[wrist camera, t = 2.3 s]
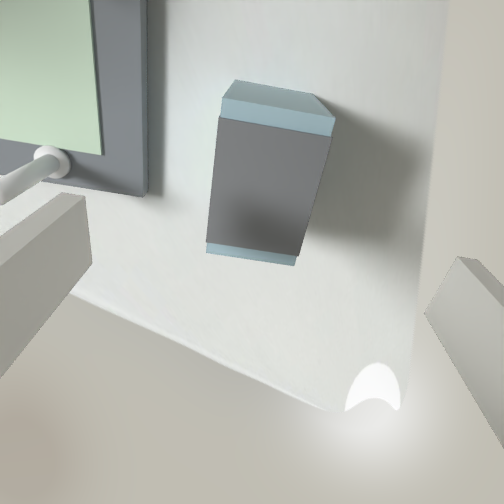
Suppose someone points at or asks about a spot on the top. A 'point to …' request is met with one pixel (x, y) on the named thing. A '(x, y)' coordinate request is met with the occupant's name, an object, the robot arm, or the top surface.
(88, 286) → the top surface
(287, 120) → the block
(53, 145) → the pin tray
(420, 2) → the top surface
